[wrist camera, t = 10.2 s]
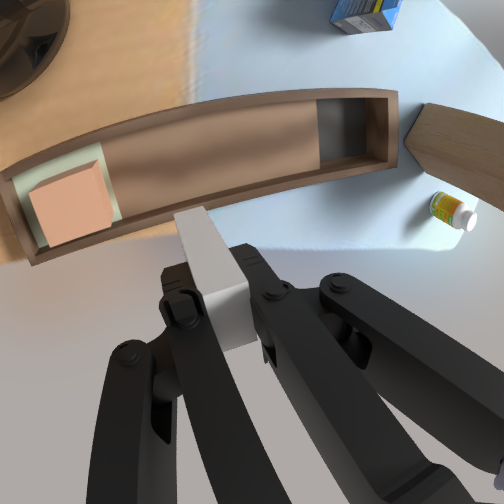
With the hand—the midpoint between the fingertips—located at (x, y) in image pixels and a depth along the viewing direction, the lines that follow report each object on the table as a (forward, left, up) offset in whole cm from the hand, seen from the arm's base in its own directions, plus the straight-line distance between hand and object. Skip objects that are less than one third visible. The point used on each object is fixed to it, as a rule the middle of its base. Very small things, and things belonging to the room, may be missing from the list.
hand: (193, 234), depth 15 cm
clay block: (+1, -10, -17) cm, 20 cm away
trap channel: (0, +6, -20) cm, 21 cm away
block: (+3, +43, -21) cm, 48 cm away
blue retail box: (-18, +27, -21) cm, 38 cm away
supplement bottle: (+17, +49, -21) cm, 56 cm away
